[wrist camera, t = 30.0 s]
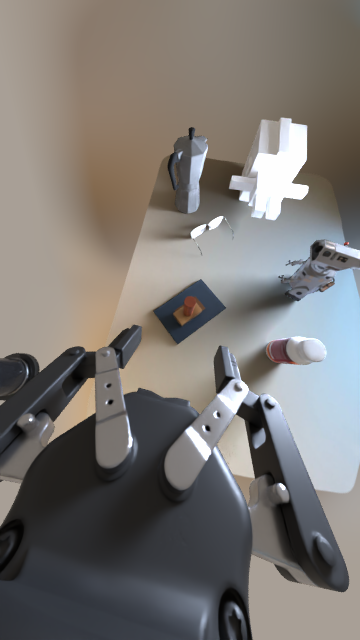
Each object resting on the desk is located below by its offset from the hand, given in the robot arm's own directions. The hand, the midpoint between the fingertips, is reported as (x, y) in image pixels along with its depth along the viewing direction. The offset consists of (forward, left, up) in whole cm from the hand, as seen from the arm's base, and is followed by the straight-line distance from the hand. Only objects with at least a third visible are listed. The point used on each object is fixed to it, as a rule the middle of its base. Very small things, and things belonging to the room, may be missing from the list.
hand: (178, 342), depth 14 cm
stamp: (+8, +7, -24) cm, 26 cm away
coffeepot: (+34, +42, -25) cm, 59 cm away
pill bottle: (+22, -16, -25) cm, 37 cm away
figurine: (+41, -4, -25) cm, 48 cm away
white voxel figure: (+58, +27, -25) cm, 69 cm away
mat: (+10, +8, -25) cm, 28 cm away
